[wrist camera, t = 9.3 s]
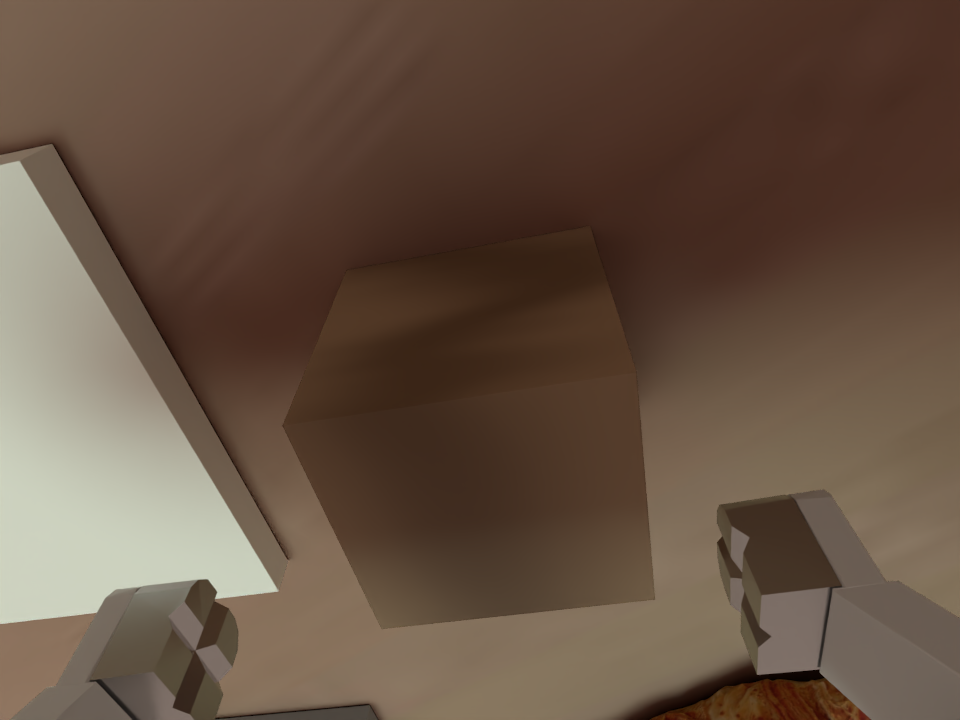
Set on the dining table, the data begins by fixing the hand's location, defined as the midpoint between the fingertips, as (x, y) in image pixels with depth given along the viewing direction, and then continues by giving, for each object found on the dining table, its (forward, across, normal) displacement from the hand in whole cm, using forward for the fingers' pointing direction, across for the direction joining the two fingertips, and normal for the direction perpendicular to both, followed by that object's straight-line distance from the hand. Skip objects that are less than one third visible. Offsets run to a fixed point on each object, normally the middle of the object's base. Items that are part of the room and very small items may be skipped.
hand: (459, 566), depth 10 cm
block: (+5, -1, 0) cm, 5 cm away
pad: (+6, +12, -1) cm, 14 cm away
